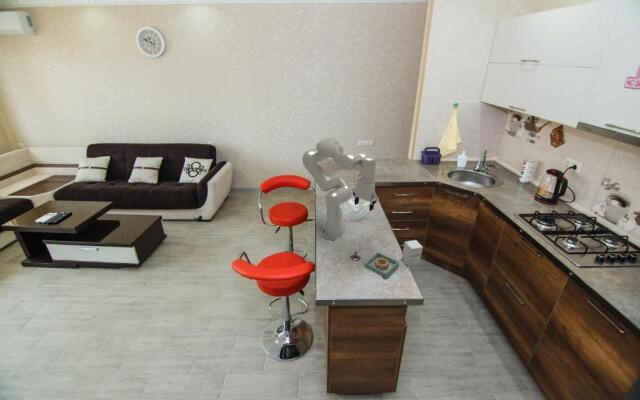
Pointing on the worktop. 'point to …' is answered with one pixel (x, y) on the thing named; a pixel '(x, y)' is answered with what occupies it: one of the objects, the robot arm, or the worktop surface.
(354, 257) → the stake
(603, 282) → the worktop surface
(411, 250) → the supplement box
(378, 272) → the tray
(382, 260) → the ring
